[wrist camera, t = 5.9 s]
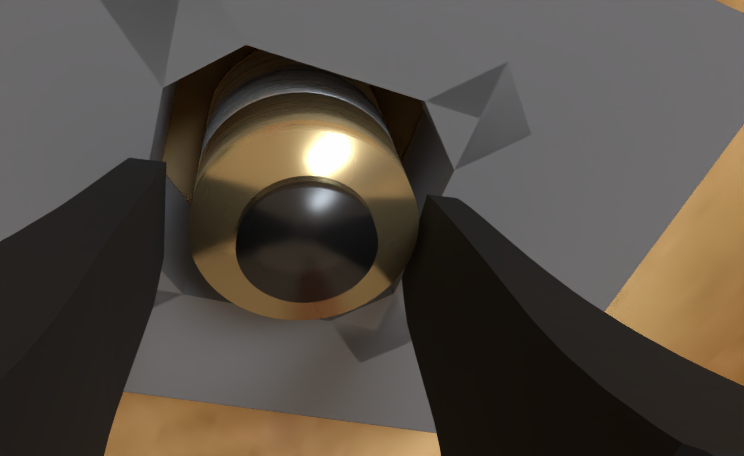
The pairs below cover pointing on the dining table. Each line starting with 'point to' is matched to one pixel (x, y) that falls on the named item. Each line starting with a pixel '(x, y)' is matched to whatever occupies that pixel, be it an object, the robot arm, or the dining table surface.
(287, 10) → the socket plate
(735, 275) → the dining table surface
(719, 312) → the dining table surface
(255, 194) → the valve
